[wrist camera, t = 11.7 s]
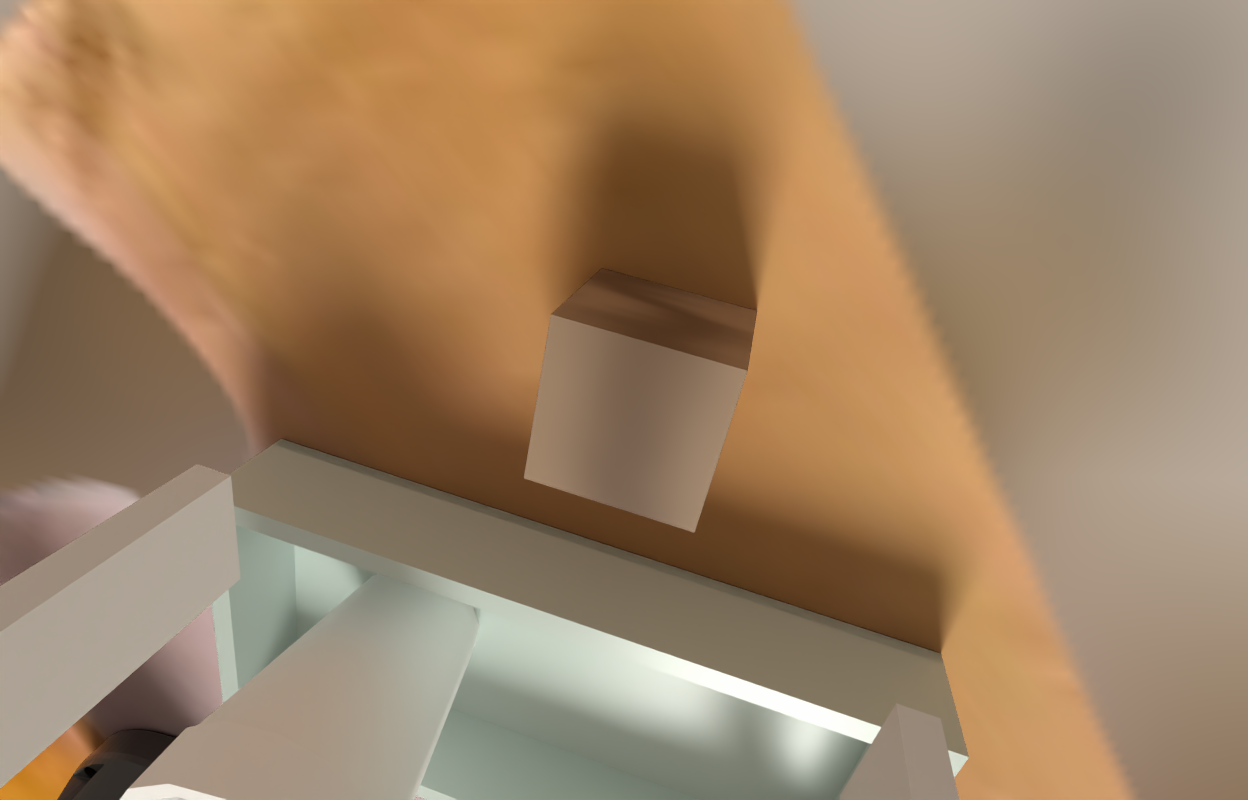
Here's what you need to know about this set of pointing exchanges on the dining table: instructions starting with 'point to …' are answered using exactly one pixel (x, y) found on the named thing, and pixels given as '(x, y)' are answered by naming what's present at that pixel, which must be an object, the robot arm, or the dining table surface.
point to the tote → (572, 647)
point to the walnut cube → (638, 395)
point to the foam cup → (332, 708)
